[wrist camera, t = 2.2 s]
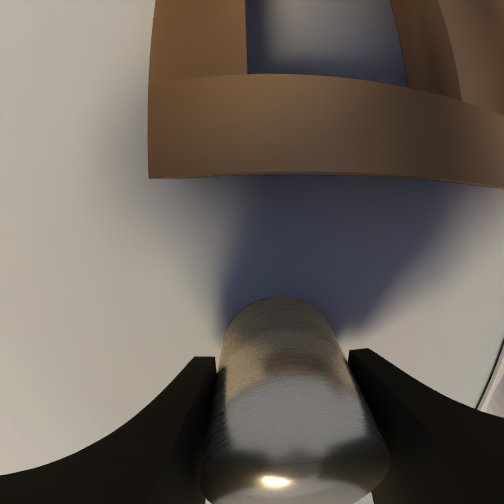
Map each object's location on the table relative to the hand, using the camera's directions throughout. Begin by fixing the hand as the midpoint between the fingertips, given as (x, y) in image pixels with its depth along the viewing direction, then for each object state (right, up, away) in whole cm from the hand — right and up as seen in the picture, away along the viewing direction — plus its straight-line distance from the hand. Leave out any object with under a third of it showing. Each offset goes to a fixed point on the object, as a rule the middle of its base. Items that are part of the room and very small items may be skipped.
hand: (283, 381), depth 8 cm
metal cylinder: (0, 0, +2) cm, 2 cm away
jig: (+4, +13, -1) cm, 14 cm away
